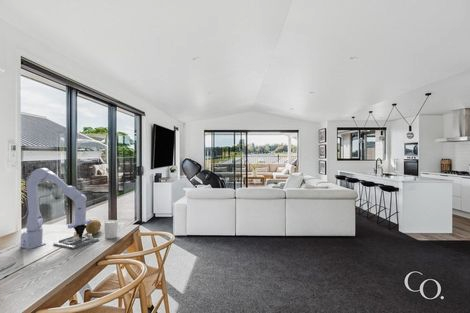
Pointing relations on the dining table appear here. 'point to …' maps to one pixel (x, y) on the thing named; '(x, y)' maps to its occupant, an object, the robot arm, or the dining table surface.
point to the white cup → (111, 228)
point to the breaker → (76, 237)
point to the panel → (76, 242)
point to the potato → (93, 227)
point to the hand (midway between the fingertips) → (79, 237)
